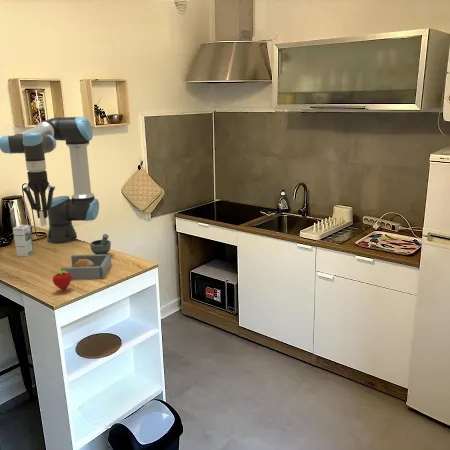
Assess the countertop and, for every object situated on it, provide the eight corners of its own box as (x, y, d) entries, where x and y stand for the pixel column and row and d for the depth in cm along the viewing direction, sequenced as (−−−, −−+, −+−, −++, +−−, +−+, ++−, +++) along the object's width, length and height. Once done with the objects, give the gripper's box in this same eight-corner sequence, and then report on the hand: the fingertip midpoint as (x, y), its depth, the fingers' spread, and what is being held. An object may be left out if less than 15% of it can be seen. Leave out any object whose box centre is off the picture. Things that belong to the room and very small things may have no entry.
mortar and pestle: (87, 256, 222) (85, 232, 219) (104, 251, 229) (102, 228, 226) (100, 261, 215) (98, 237, 212) (117, 256, 222) (115, 232, 218)
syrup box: (27, 256, 223) (23, 228, 219) (16, 256, 224) (12, 227, 220) (34, 252, 228) (30, 224, 224) (23, 252, 229) (19, 224, 225)
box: (73, 265, 211) (71, 255, 209) (111, 264, 211) (110, 254, 210) (62, 279, 194) (60, 268, 193) (103, 278, 195) (102, 267, 194)
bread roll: (98, 278, 205) (100, 260, 206) (88, 277, 195) (90, 258, 196) (78, 277, 207) (80, 259, 208) (66, 275, 197) (68, 257, 198)
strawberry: (51, 291, 183) (48, 268, 180) (68, 285, 188) (66, 263, 185) (58, 295, 179) (55, 271, 176) (76, 289, 184) (73, 266, 181)
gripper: (17, 172, 186) (25, 228, 192) (49, 171, 186) (56, 227, 193) (24, 169, 193) (31, 223, 200) (55, 168, 193) (61, 222, 200)
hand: (43, 225), depth 196 cm, fingers closed
